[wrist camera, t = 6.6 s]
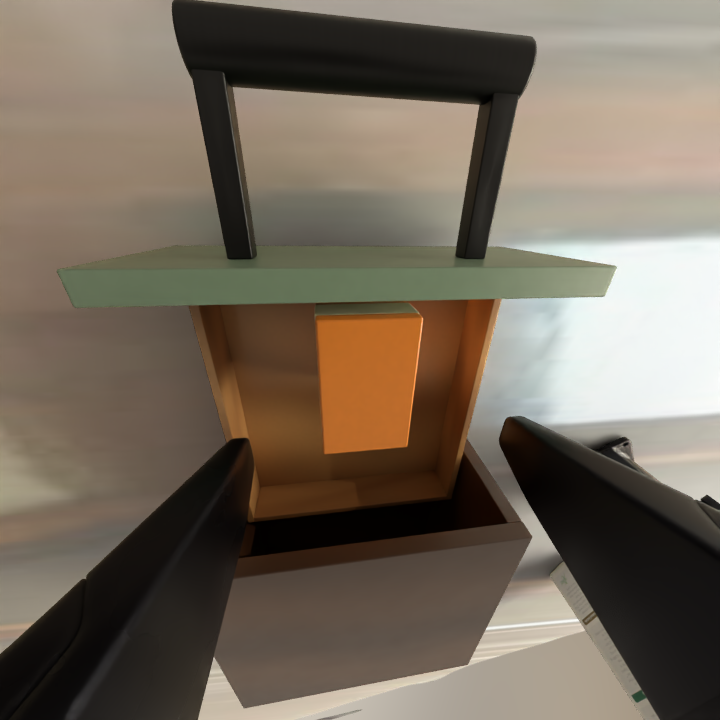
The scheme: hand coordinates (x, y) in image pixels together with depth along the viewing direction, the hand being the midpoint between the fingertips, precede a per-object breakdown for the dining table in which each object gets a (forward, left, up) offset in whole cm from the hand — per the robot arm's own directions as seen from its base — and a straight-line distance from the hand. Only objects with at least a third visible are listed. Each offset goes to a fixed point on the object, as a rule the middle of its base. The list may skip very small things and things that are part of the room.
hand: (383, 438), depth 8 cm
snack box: (0, 0, -8) cm, 8 cm away
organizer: (-13, +9, -10) cm, 19 cm away
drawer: (-1, +1, -9) cm, 9 cm away
